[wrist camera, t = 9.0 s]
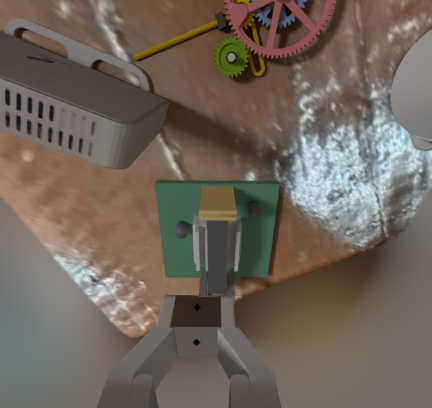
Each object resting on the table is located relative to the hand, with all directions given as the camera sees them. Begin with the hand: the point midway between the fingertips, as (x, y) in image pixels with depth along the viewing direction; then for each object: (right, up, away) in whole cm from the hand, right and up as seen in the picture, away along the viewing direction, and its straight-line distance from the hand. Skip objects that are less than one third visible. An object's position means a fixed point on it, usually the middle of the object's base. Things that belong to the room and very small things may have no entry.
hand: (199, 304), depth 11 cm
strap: (+1, -4, +30) cm, 30 cm away
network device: (-18, +22, +24) cm, 37 cm away
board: (+1, -1, +35) cm, 35 cm away
